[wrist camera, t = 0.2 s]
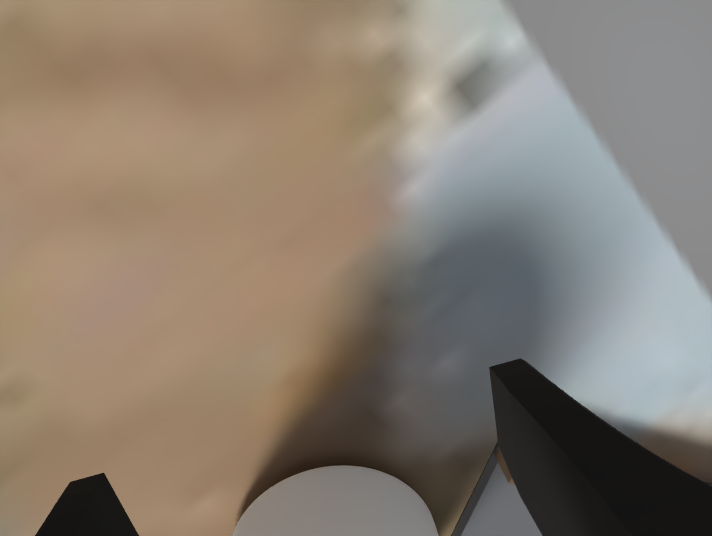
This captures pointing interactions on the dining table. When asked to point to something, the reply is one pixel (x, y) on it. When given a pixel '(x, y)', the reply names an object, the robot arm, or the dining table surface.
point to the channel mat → (497, 505)
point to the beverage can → (338, 506)
